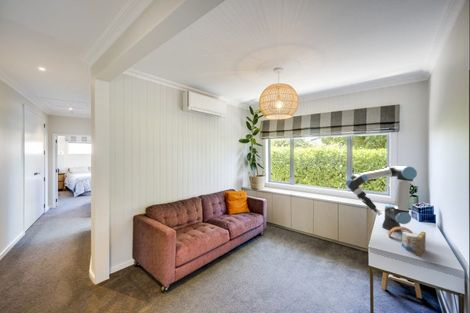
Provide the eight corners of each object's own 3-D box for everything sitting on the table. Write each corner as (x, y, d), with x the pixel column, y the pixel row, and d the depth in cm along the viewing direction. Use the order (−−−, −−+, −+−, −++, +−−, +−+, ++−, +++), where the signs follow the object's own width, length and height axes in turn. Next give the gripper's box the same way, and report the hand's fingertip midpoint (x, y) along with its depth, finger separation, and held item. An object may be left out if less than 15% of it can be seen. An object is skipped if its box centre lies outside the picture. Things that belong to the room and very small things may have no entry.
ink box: (406, 250, 162) (406, 235, 161) (401, 245, 170) (402, 231, 169) (419, 251, 159) (420, 237, 158) (414, 247, 167) (414, 232, 166)
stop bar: (421, 248, 164) (422, 231, 164) (425, 249, 162) (425, 232, 162) (416, 255, 153) (416, 237, 153) (419, 256, 151) (420, 237, 151)
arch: (417, 242, 175) (418, 231, 175) (388, 237, 185) (389, 226, 185) (416, 240, 180) (416, 228, 180) (387, 235, 190) (388, 224, 190)
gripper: (359, 194, 202) (379, 215, 189) (353, 196, 194) (374, 218, 181) (365, 190, 198) (386, 211, 185) (360, 192, 190) (381, 214, 177)
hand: (380, 214), depth 183 cm, fingers closed
